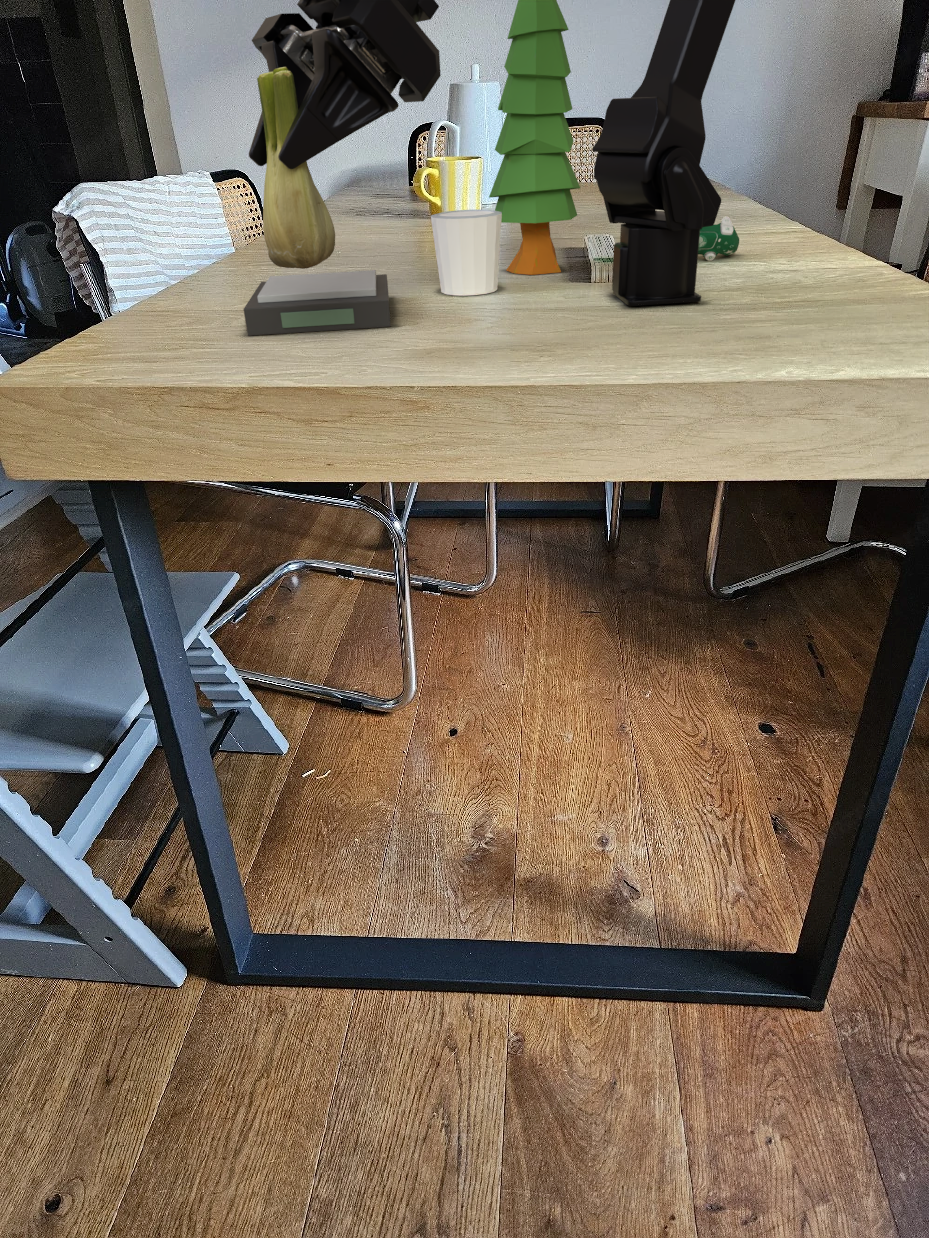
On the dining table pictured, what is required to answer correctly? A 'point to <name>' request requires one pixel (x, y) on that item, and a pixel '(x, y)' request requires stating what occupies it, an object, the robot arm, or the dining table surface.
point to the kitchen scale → (319, 303)
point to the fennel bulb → (290, 185)
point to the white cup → (467, 250)
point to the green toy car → (718, 239)
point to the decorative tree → (535, 135)
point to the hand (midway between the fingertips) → (268, 163)
